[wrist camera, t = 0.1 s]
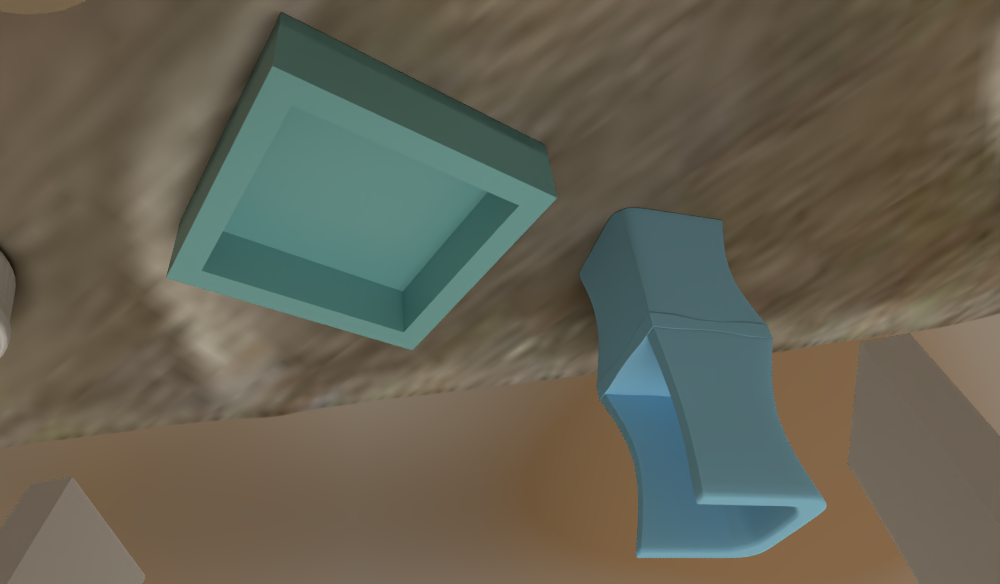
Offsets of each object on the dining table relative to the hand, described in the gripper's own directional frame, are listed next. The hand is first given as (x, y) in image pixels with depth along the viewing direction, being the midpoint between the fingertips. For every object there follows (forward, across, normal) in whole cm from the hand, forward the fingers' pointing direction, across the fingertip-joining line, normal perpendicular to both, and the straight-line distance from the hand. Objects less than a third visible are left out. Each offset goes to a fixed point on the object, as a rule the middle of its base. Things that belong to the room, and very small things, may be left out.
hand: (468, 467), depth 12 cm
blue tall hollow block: (+35, +9, -18) cm, 40 cm away
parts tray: (+31, -8, -7) cm, 33 cm away
